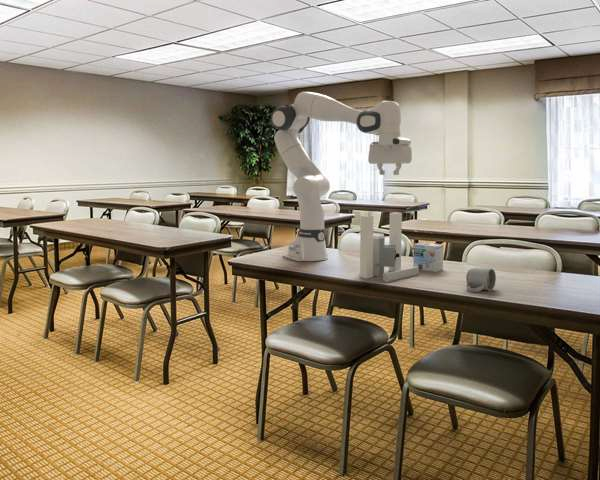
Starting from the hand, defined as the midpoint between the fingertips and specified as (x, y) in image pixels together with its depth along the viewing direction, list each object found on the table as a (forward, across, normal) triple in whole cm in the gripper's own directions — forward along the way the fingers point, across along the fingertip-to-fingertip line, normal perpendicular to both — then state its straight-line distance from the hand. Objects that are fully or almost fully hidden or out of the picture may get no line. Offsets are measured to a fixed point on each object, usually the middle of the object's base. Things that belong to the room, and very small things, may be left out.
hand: (389, 174), depth 221 cm
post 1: (+39, +6, -21) cm, 45 cm away
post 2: (+39, +6, -3) cm, 40 cm away
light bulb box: (+40, +14, +9) cm, 43 cm away
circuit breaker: (+39, +6, -12) cm, 42 cm away
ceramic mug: (+40, +47, -8) cm, 62 cm away
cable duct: (+39, +16, -12) cm, 44 cm away
